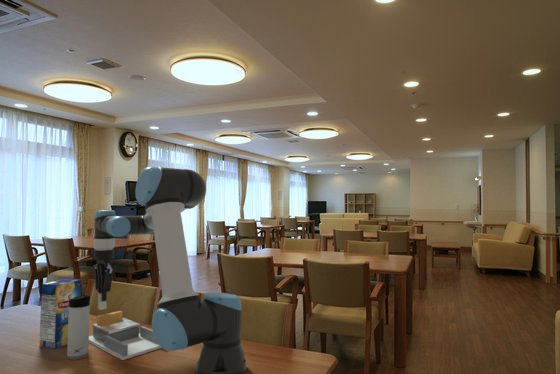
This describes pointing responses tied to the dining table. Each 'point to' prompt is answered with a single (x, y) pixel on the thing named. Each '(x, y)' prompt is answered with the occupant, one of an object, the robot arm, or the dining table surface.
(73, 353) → the travel mug
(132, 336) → the dock
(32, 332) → the dining table surface
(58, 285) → the blue food box
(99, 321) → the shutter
